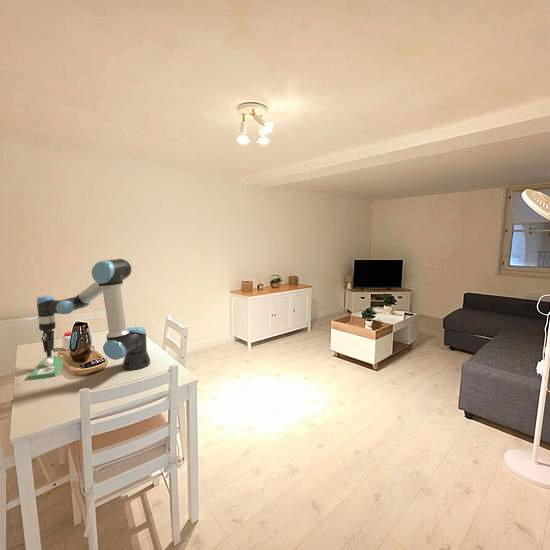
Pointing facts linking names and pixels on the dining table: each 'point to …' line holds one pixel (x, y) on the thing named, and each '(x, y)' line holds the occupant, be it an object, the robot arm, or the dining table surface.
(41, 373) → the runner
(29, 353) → the dining table surface
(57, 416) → the dining table surface
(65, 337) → the pill bottle
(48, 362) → the ball
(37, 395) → the dining table surface
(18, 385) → the dining table surface
